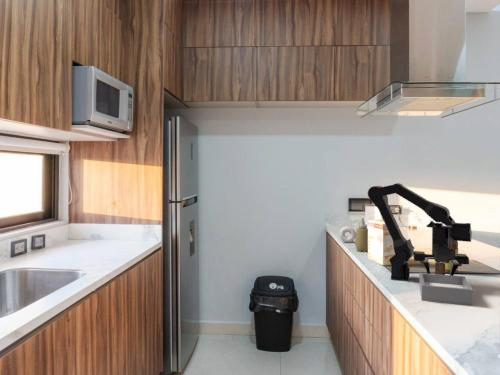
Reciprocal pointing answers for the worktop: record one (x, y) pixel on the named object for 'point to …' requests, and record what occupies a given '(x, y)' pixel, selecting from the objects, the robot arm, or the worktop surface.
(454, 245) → the sauce bottle
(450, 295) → the box
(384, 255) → the coffeecake box
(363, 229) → the squeeze bottle
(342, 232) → the donut
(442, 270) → the peg
